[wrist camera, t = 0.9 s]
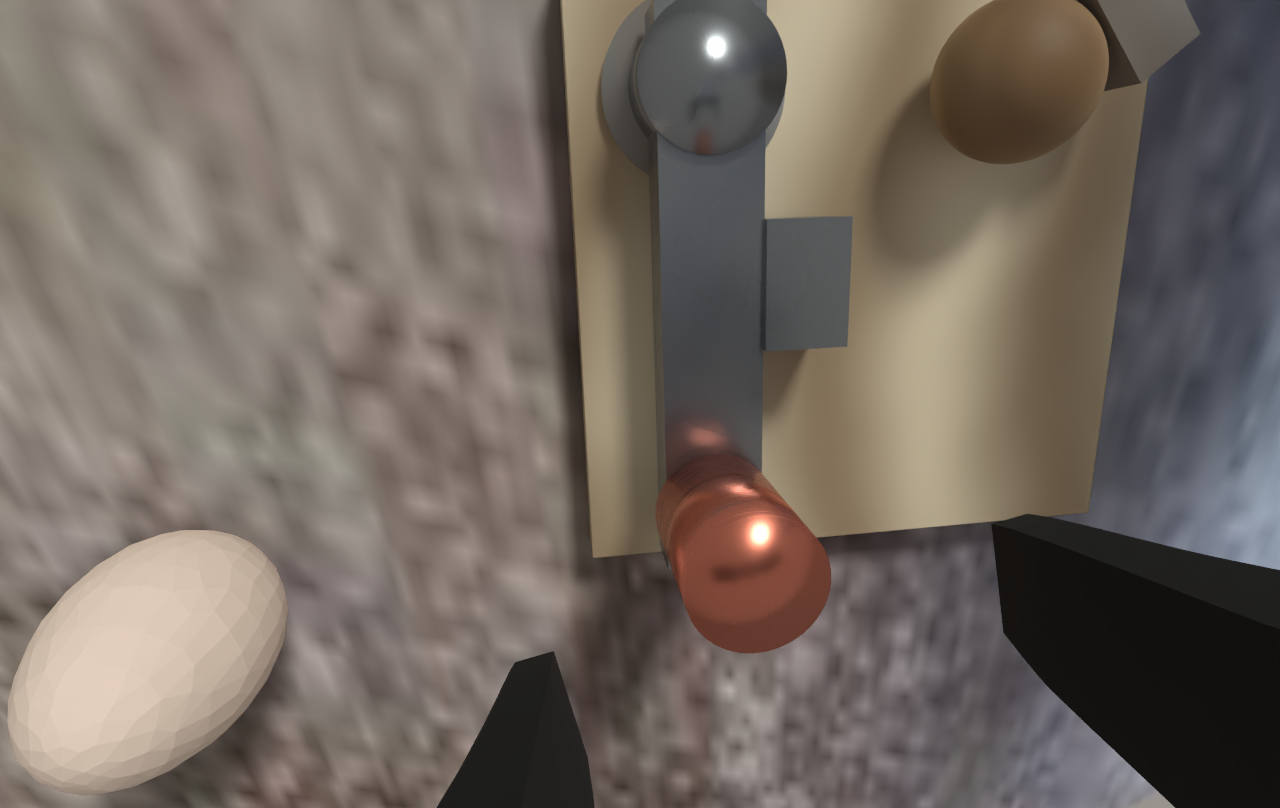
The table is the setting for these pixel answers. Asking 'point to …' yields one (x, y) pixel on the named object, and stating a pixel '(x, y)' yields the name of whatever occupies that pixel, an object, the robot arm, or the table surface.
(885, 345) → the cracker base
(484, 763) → the robot arm
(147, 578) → the egg
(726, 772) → the table surface
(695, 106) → the lever
